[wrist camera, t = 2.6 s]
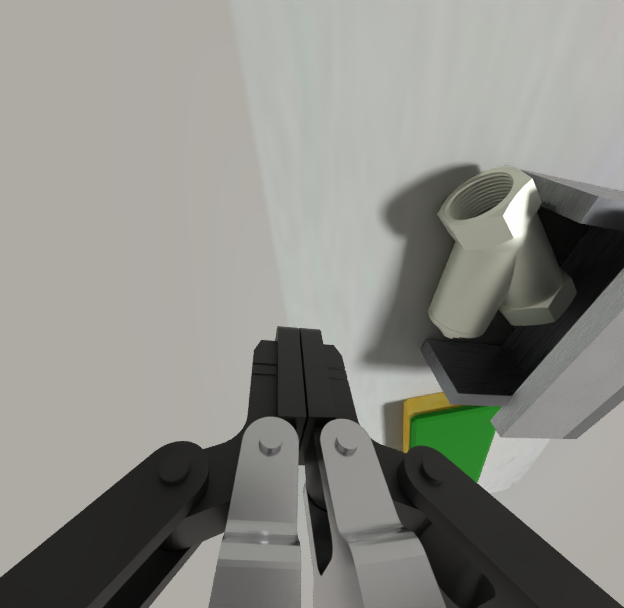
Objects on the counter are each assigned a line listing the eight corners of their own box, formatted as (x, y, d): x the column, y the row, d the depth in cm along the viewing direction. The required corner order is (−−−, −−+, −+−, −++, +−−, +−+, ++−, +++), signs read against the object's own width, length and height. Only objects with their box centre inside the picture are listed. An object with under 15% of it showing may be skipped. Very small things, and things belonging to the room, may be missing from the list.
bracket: (517, 169, 14) (655, 215, 9) (631, 193, 16) (810, 246, 10) (420, 349, 21) (467, 436, 16) (506, 356, 22) (576, 439, 17)
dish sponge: (487, 379, 25) (506, 404, 23) (465, 460, 33) (477, 484, 31) (401, 395, 25) (412, 421, 23) (401, 472, 33) (408, 496, 31)
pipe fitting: (439, 322, 21) (542, 265, 18) (463, 367, 18) (592, 306, 15) (374, 244, 17) (493, 157, 14) (391, 284, 14) (547, 183, 11)
